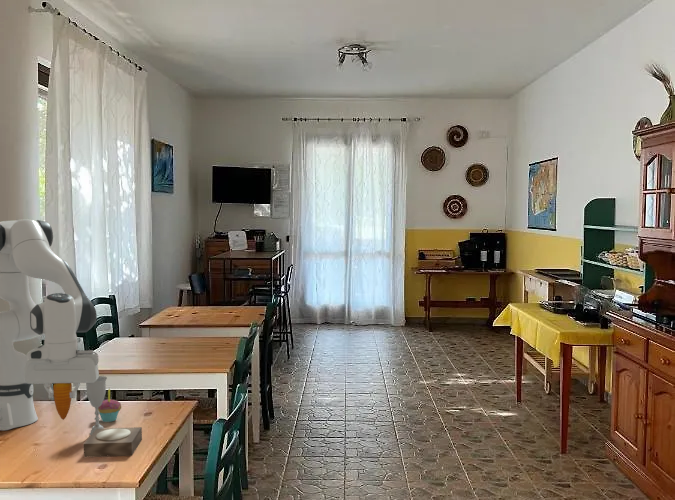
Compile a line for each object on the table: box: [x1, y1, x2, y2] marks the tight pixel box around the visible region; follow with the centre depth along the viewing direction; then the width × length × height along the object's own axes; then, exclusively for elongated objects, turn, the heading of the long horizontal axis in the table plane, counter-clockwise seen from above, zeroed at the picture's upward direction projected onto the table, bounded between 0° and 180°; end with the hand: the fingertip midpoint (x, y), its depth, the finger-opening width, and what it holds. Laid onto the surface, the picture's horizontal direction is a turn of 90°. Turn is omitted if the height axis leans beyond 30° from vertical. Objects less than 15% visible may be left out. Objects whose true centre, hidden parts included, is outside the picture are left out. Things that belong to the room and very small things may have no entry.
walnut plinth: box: [83, 426, 143, 458], centre depth 213 cm, size 14×14×4 cm
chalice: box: [85, 375, 108, 436], centre depth 227 cm, size 7×7×18 cm
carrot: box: [52, 383, 73, 421], centre depth 201 cm, size 5×5×15 cm
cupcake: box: [98, 387, 122, 423], centre depth 241 cm, size 9×8×12 cm
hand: (62, 397), depth 201 cm, fingers closed on carrot, 4 cm apart
